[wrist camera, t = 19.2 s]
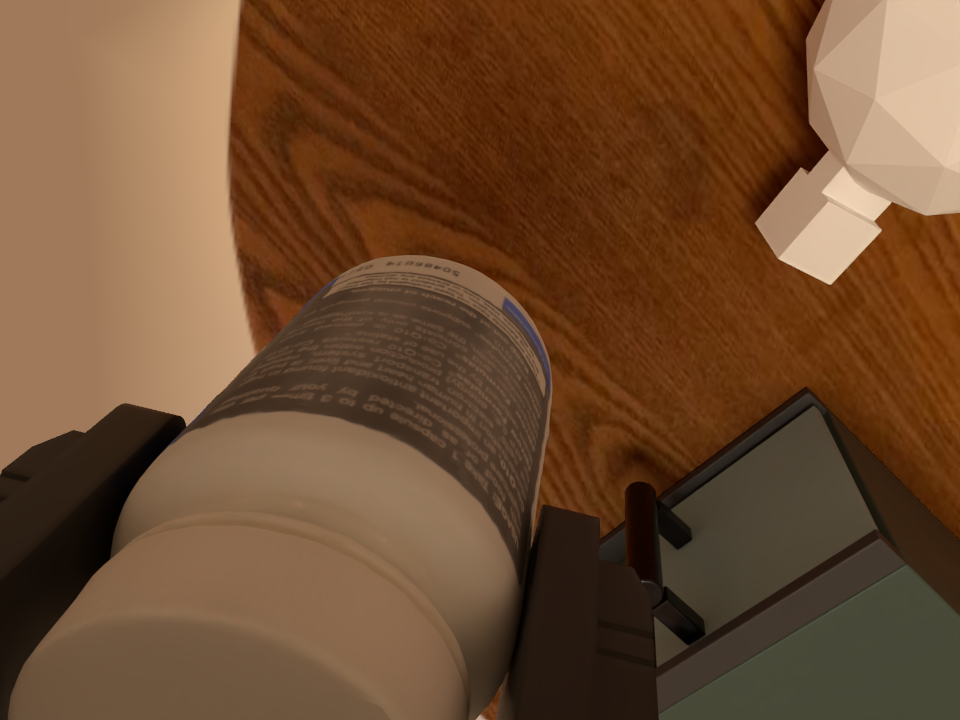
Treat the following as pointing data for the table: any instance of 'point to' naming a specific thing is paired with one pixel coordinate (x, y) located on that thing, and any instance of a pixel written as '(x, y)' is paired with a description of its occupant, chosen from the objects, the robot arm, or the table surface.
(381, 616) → the pill bottle
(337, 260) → the table surface
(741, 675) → the cabinet
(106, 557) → the robot arm
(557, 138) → the table surface
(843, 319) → the table surface
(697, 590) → the door
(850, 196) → the perfume bottle
